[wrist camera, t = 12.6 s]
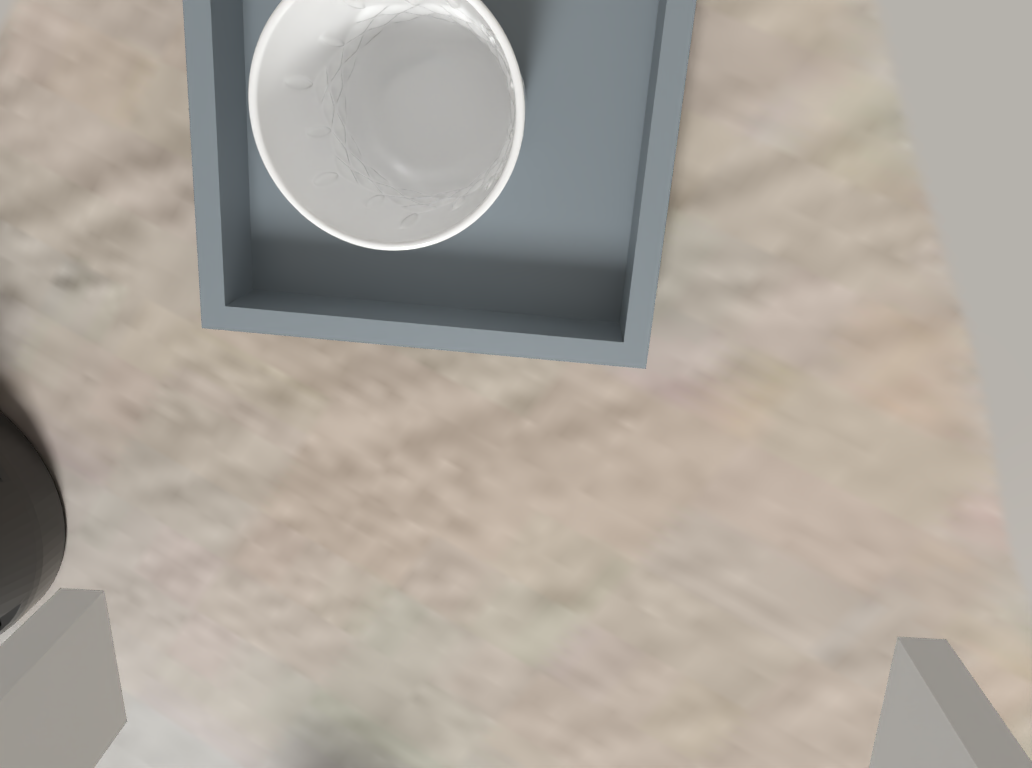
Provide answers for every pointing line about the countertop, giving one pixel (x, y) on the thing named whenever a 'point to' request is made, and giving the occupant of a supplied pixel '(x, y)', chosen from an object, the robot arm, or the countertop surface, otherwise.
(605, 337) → the bin
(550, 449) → the countertop surface
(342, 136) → the white cup
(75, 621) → the robot arm
